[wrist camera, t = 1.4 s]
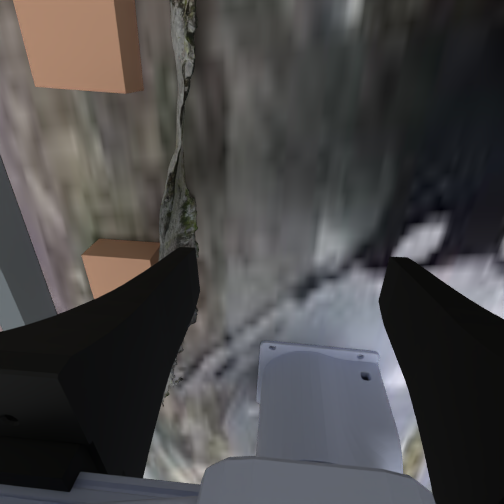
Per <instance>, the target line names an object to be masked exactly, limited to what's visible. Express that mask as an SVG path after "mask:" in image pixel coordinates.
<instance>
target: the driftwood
mask: <svg viewBox="0 0 504 504" xmlns="http://www.w3.org/2000/svg"><path fill="white" fill-rule="evenodd" d="M170 9H171V37H172V43H173V49H174V54H175V61H176V69H177V81H178V98H177V135H176V149H175V152H174V154H173V156H172V159H171V161H170V164H169V167H168V177H167V179H166V184H165V190H164V194H163V198H162V203H161V208H160V221H159V232H160V249H159V261H160V260H161V259H163V258H164V257H165V256H167V255H168V254H170V253H171V252H173V251H174V250H176V249H177V248H179V247H193V248H196V257H198V251H199V249H198V246H197V245H198V243H197V242H196V241H195V235H194V232H195V231H196V230H197V229H198V227H197V226H196V215H197V212H196V210H195V209H196V204H195V200H194V198H191V197H190V195H189V190H188V189H187V187H186V185H185V171H184V161H183V157H184V152H183V140H182V136H183V125H184V112H185V108H184V104H185V100H186V98H187V96H188V92H189V88H190V79H191V76H192V74H193V72H194V65H195V44H194V38H193V36H194V33H195V29H196V28H197V27H198V24H197V16H196V0H170ZM197 311H198V310H197V309H196V308H195V312H194V315H193V317H192V320H191V322H190V325H191V324H194V323H195V322H196V316H197V313H196V312H197ZM190 325H189V326H190ZM182 351H183V347H182V344H181V346H180V349H179V351H178V353H180V352H182ZM176 364H177V363H176V358H175V361H174V364H173V366H172V369H171V372H170V375H169V379H168V382H167V386H166V389H165V392H164V396H163V400H164V398H165V397H166V396H168V395H169V393H168V389H169V386H173V385H174V384H175V385H178V383H179V382H180V381H181V380H183V378H179V379H178V380H177V381H175V383H174V382H173V378H175V375H174V369H173V367H175V365H176ZM171 384H172V385H171ZM173 387H174V386H173ZM163 400H162V404H163ZM163 407H164V405H163Z"/></svg>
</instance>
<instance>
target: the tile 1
mask: <svg viewBox="0 0 504 504" xmlns="http://www.w3.org/2000/svg"><path fill="white" fill-rule="evenodd" d="M13 2H14V5H15V9H16V13H17V17H18V21H19V25H20V29H21V33H22V37H23V41H24V44H25V48H26V52H27V56H28V60H29V64H30V68H31V72H32V76H33V79H34V83H35V87H45V88H58V89H71V90H84V91H98V92H111V93H124V94H126V93H132V92H137V91H143V90H144V88H143V78H142V69H141V59H140V49H139V39H138V30H137V20H136V10H135V0H13Z"/></svg>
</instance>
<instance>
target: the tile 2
mask: <svg viewBox="0 0 504 504" xmlns="http://www.w3.org/2000/svg"><path fill="white" fill-rule="evenodd" d="M159 249H160V243H157V242H142V241H127V240H112V239H98V240H97V241H96V242H95V243H94V244H93V245H92V246H91V247H90V248H88V249H87V250H86V251H85V252H84V253H83V254H82V259H83V262H84V266H85V269H86V272H87V276H88V279H89V283H90V286H91V290H92V293H93V296H94V299H96V298H98V297H100V296H102V295H104V294H106V293H108V292H110V291H112V290H114V289H116V288H118V287H120V286H121V285H123V284H125V283H126V282H128V281H129V280H131V279H133V278H134V277H136V276H137V275H139V274H141V273H142V272H144V271H145V270H147V269H148V268H150V267H151V266H153V265H154V264H156V263H157V262H158V261H159Z"/></svg>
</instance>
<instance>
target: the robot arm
mask: <svg viewBox="0 0 504 504" xmlns="http://www.w3.org/2000/svg"><path fill="white" fill-rule="evenodd" d="M199 293H200V286H199V276H198V267H197V258H196V248H193V247H179V248H177V249H176V250H174V251H173V252H171V253H170V254H168V255H167V256H165V257H164V258H163V259H161V260H160V261H158V262H157V263H156V264H154V265H153V266H151V267H150V268H148V269H147V270H145V271H144V272H142V273H141V274H139V275H137V276H136V277H134V278H133V279H131V280H129V281H128V282H126V283H125V284H123V285H121V286H120V287H118V288H116V289H114V290H112V291H110V292H108V293H106V294H104V295H102V296H100V297H98V298H96V299H94V300H92V301H90V302H87V303H85V304H82V305H80V306H78V307H75V308H73V309H71V310H68V311H66V312H63V313H60V314H58V315H55V316H52V317H49V318H46V319H43V320H40V321H37V322H34V323H31V324H27V325H24V326H21V327H17V328H13V329H9V330H6V331H2V332H0V504H504V319H502V318H500V317H499V316H497V315H495V314H493V313H491V312H490V311H488V310H486V309H484V308H483V307H481V306H479V305H478V304H476V303H475V302H473V301H471V300H470V299H468V298H466V297H465V296H463V295H462V294H460V293H459V292H457V291H456V290H454V289H453V288H451V287H450V286H448V285H447V284H446V283H444V282H443V281H441V280H440V279H438V278H437V277H436V276H434V275H433V274H431V273H430V272H429V271H427V270H426V269H424V268H423V267H421V266H420V265H419V264H417V263H416V262H414V261H412V260H411V259H409V258H406V257H390V258H389V262H388V266H387V270H386V274H385V278H384V282H383V286H382V289H381V293H380V297H379V306H380V310H381V315H382V319H383V323H384V327H385V329H386V332H387V335H388V337H389V340H390V342H391V345H392V348H393V350H394V353H395V355H396V358H397V360H398V363H399V365H400V368H401V371H402V373H403V376H404V378H405V381H406V384H407V387H408V390H409V394H410V397H411V401H412V405H413V409H414V412H415V416H416V420H417V424H418V428H419V432H420V437H421V441H422V445H423V449H424V454H425V459H426V463H427V468H428V473H429V477H430V482H431V487H432V492H433V494H432V492H431V491H429V490H428V489H427V488H425V487H424V486H423V485H421V484H420V483H419V482H418V481H416V480H415V479H413V478H412V477H411V476H409V475H405V474H403V462H402V452H401V445H400V439H399V435H398V431H397V427H396V424H395V420H394V417H393V414H392V410H391V407H390V404H389V400H388V397H387V394H386V390H385V387H384V384H383V380H382V377H381V374H380V370H379V367H378V361H379V358H380V357H379V354H378V353H377V352H375V351H367V350H357V349H348V348H338V347H328V346H318V345H308V344H298V343H288V342H278V341H269V340H264V341H262V342H261V343H260V354H259V367H258V380H257V393H256V401H257V402H258V403H259V404H260V412H259V425H258V437H257V450H256V456H243V457H228V458H226V459H224V460H222V461H219V462H217V463H215V464H213V465H211V466H210V467H208V468H207V469H206V470H205V473H204V476H203V478H202V481H201V485H199V484H189V483H180V482H171V481H162V480H153V479H144V478H143V475H144V471H145V466H146V462H147V458H148V453H149V449H150V445H151V441H152V437H153V433H154V429H155V425H156V421H157V418H158V414H159V410H160V407H161V403H162V399H163V396H164V392H165V389H166V386H167V382H168V379H169V375H170V372H171V369H172V366H173V364H174V361H175V358H176V356H177V354H178V351H179V349H180V346H181V344H182V342H183V339H184V337H185V334H186V332H187V330H188V327H189V325H190V322H191V320H192V317H193V315H194V312H195V308H196V305H197V301H198V297H199ZM270 346H275V347H274V348H272V347H270ZM358 355H362V356H360V357H359V356H358Z"/></svg>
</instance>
